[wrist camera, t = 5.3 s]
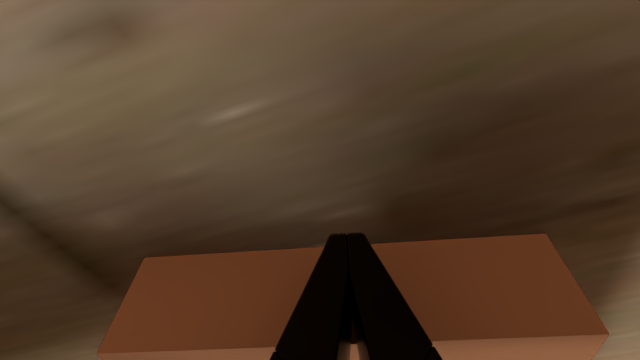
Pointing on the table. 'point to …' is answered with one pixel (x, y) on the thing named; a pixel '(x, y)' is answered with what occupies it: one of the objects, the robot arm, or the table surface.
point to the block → (412, 281)
